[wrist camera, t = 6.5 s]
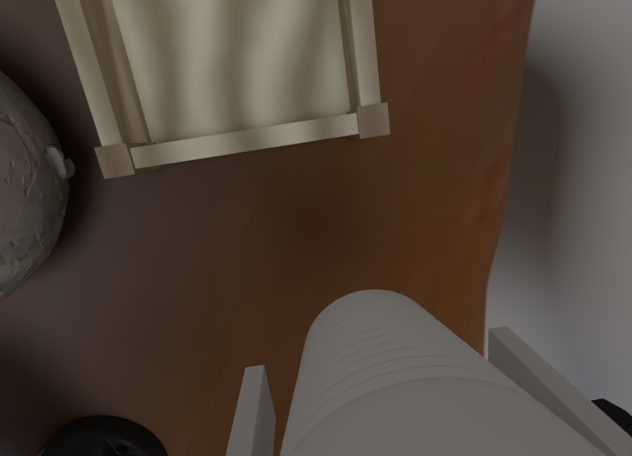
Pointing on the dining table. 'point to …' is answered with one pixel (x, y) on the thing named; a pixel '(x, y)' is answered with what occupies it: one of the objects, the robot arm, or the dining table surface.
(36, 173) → the bowl
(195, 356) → the dining table surface
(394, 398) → the cup
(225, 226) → the dining table surface
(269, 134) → the crate
